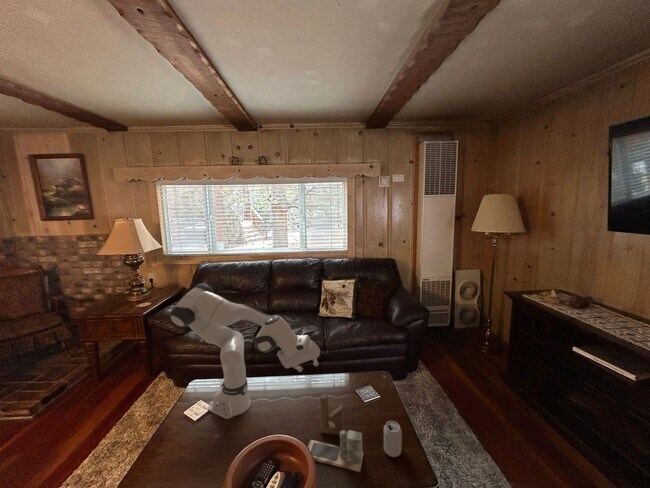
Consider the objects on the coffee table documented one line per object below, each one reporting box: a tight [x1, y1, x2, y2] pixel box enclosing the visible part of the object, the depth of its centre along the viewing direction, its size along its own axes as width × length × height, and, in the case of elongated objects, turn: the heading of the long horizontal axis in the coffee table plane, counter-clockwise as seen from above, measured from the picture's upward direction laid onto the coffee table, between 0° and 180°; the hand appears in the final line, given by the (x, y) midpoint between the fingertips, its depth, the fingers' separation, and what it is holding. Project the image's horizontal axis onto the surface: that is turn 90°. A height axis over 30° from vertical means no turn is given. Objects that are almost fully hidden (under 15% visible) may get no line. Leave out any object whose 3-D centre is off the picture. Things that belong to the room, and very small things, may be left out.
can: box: [383, 420, 403, 458], centre depth 115 cm, size 8×8×12 cm
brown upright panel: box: [319, 393, 345, 436], centre depth 125 cm, size 4×11×18 cm, turn 80°
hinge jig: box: [307, 429, 364, 473], centre depth 113 cm, size 24×8×12 cm, turn 74°
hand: (309, 367), depth 123 cm, fingers open, 8 cm apart
